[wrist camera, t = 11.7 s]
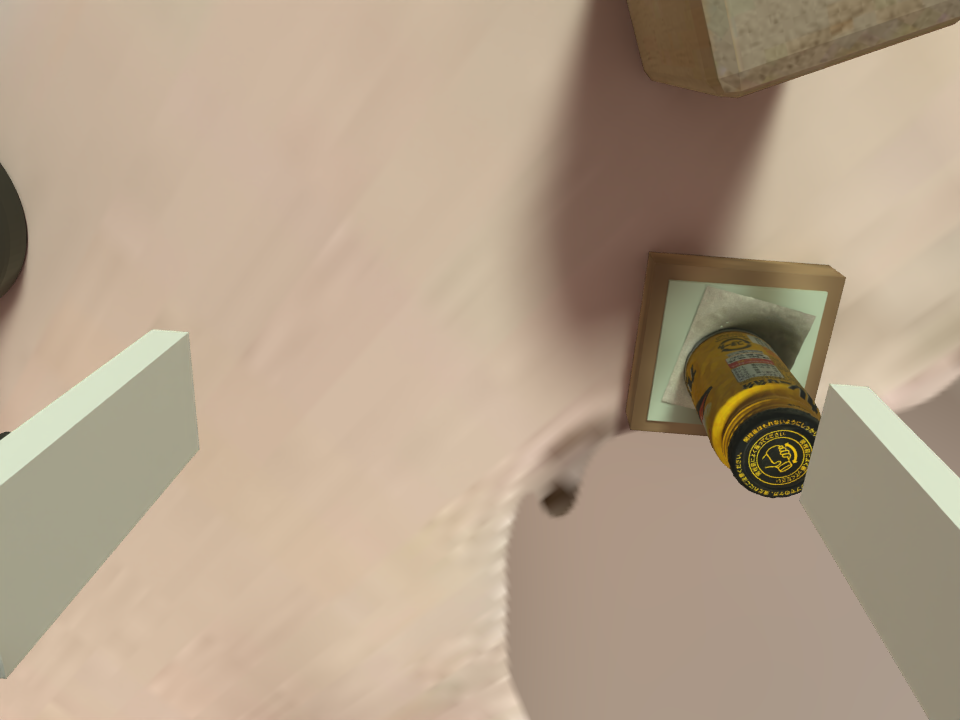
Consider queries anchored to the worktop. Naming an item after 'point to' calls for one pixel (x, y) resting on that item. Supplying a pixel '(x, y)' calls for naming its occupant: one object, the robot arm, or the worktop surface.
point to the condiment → (749, 389)
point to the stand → (674, 307)
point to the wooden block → (770, 37)
